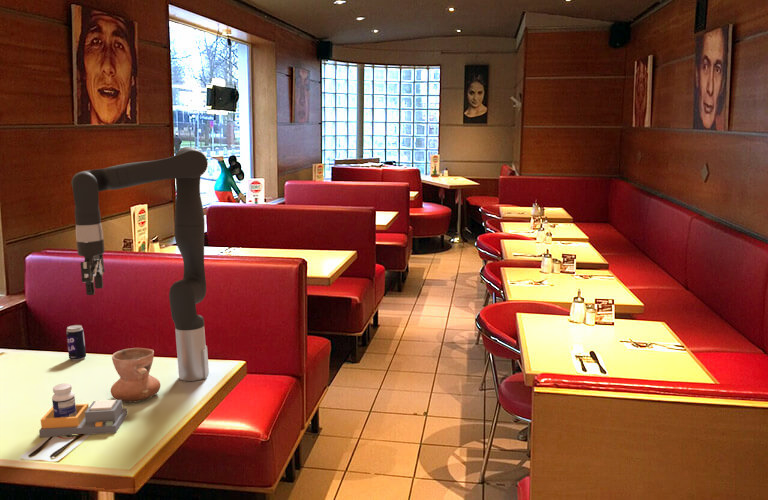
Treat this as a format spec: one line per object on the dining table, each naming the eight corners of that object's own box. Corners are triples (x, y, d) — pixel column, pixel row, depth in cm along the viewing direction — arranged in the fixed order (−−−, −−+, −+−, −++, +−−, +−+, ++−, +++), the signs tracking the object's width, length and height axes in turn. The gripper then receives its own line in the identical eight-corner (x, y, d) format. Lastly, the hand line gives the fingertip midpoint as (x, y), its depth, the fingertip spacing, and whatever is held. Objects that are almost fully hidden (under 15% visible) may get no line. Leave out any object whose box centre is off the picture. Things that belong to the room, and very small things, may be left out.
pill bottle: (54, 418, 198) (50, 384, 196) (76, 414, 201) (72, 381, 199) (55, 426, 193) (51, 391, 191) (77, 421, 196) (74, 387, 194)
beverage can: (72, 356, 257) (69, 324, 255) (88, 356, 258) (85, 324, 255) (66, 361, 252) (63, 329, 249) (83, 361, 252) (79, 328, 250)
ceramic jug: (169, 399, 215) (166, 354, 213) (121, 411, 207) (117, 364, 204) (149, 384, 229) (145, 341, 227) (103, 394, 221) (99, 350, 219)
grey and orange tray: (127, 414, 205) (125, 396, 204) (116, 432, 193) (114, 413, 192) (55, 418, 203) (53, 400, 202) (39, 437, 191) (37, 418, 190)
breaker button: (117, 413, 201) (116, 399, 200) (112, 420, 196) (110, 407, 195) (97, 414, 200) (96, 400, 200) (91, 422, 195) (90, 408, 194)
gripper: (84, 235, 218) (89, 286, 221) (68, 243, 204) (74, 297, 207) (109, 234, 219) (114, 285, 221) (95, 242, 205) (101, 296, 208)
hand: (95, 291), depth 214 cm, fingers open, 8 cm apart
